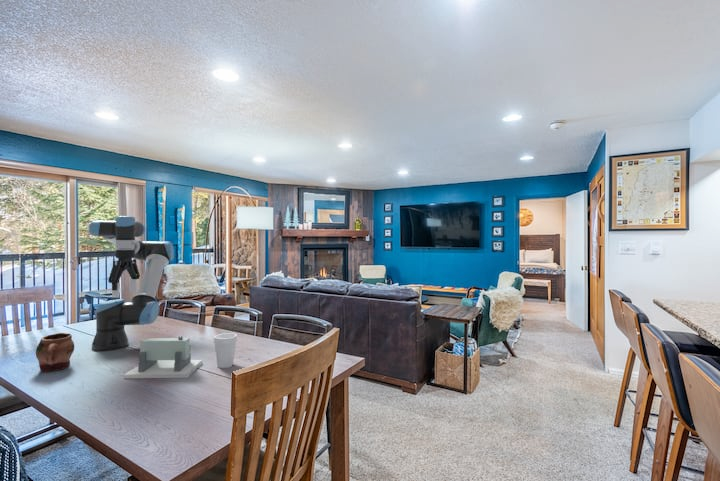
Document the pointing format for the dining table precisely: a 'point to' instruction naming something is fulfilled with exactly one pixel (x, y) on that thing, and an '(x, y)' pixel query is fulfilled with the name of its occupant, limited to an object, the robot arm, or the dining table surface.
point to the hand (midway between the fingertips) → (124, 295)
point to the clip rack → (163, 367)
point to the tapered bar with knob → (165, 348)
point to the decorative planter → (55, 352)
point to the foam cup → (225, 349)
